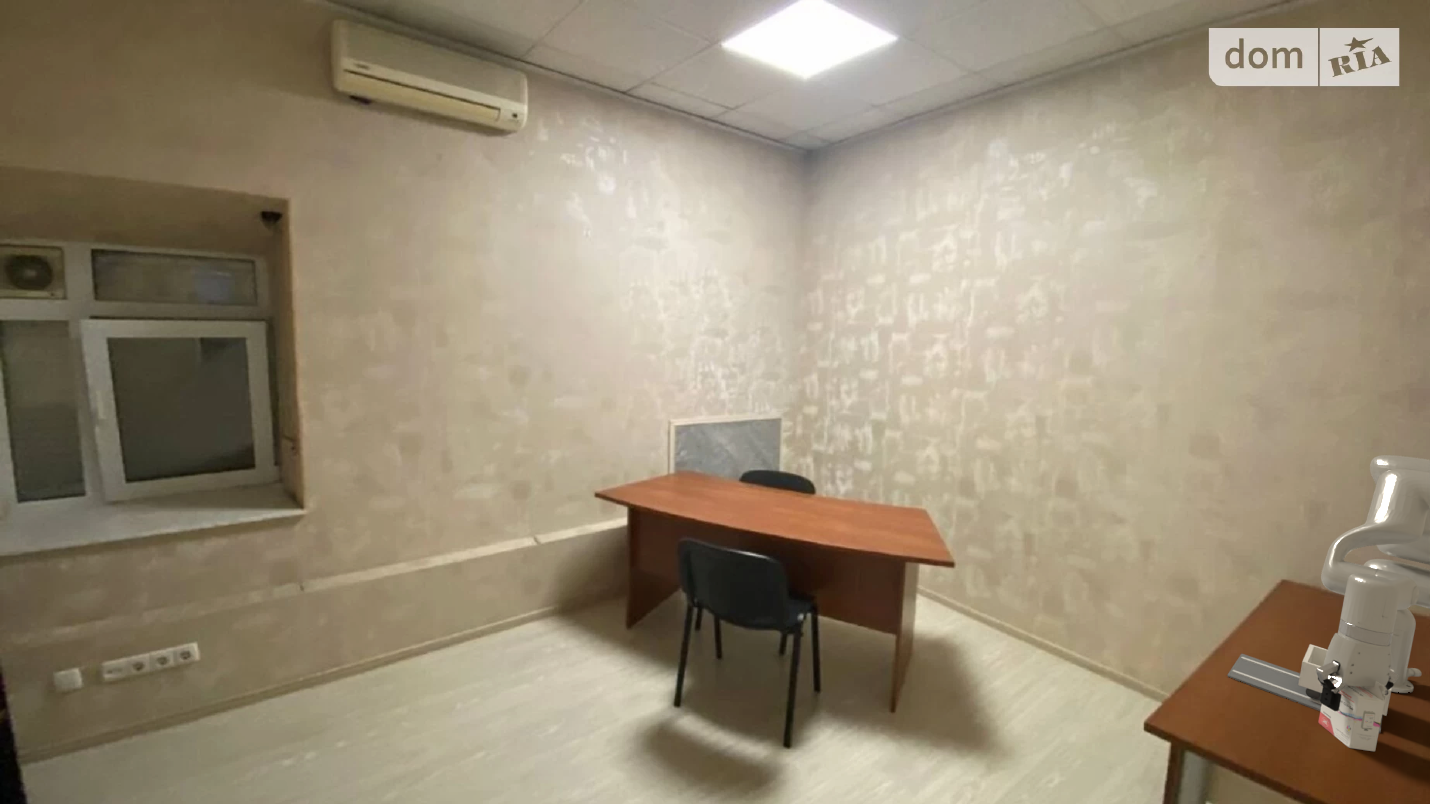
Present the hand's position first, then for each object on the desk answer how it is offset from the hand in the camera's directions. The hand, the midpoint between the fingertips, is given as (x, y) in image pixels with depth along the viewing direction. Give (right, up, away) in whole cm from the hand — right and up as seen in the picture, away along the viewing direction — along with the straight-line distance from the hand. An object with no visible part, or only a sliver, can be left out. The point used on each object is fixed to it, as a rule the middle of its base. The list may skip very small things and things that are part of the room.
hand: (1350, 708), depth 126 cm
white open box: (+13, -5, +13) cm, 19 cm away
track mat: (+9, -5, +19) cm, 21 cm away
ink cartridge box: (0, -7, +1) cm, 7 cm away
